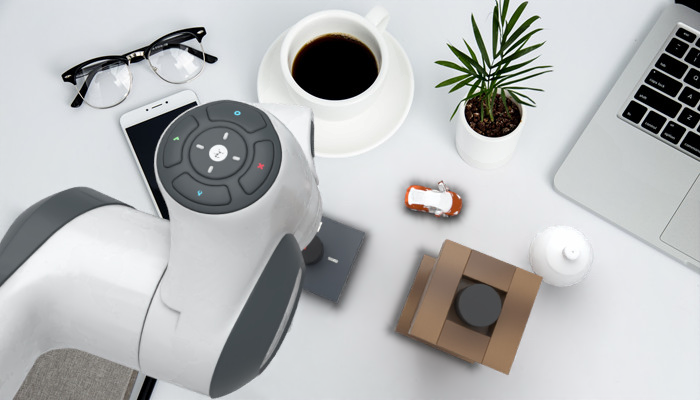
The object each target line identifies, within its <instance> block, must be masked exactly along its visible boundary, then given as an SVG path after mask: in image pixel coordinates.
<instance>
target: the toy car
mask: <svg viewBox="0 0 700 400" xmlns="http://www.w3.org/2000/svg"><path fill="white" fill-rule="evenodd" d="M437 185H438V189H439V190H437V189H433V188H431V187H428V186H423V185H419V184H411V185H409V186H408V188H407V189H406V192H405V195H404V205H405V207H406V208H407V209H409V210H410V211H414V212H421V213H422V212H424V213H431V214H434V217H436V218H440V217H441V216H443V217H444V218H445V217H446V218H448V219H449V218H451V217H455V216H457V215H459V214H460V212H461V210H462V208H463V200H462V199H463V198H462V197H461V195H460V194H458V193H457V192H455V191H451V190H450V188H449V186H447V184H446V183H445V182H444V181H443V179H441V181H439V182H437Z"/></svg>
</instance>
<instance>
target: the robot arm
mask: <svg viewBox="0 0 700 400" xmlns="http://www.w3.org/2000/svg"><path fill="white" fill-rule="evenodd" d="M315 153H316V152H315V115H314V111H313V109H312V107H310V106H306V105H305V106H304V105H298V104H290V103H282V102H281V103H280V102H249V101H246V100H245V101H244V100H238V99H217V100H216V99H215V100H211V101H210V100H209V101H206V102H203V103H200V104H198V105H195V106H192V107H191V108H189V109H187V110H185V111H184V112H182V113H181V114H179V115H178V116H177V117H176V118H174V119H173V120H172V121H171V122H170V123H169V124H168V126H167V127H166V128H165V129H164V131H163V132H162V134H161V135H160V138H159V139H158V142H157V145H156V147H155V151H154V160H153V161H154V163H153V167H154V175H155V179H156V183H157V185H158V188H159V191H160V193H161V195H162V198H163V200H164V201H165V204H166V207H167V210H168V215H169V219H165V218H163V217H160V216H157V215H155V214H151V213H148V212H145V211H142V210H140V209H137V208H136V207H135V206H133V205H130V204H128V203H126V202H123V201H121V200H119V199H116V198H115V197H112V196H109V195H108V194H105V193H103V192H100V191H99V190H96V189H94V188H91V187H88V186H74V187H70V188H67V189H63V190H61V191H58V192H55V193H52V194H51V195H49V196H46V197H44V198H42V199H40V200H38V201H37V202H35V203H34V204H31V205H30V206H29V207H27V208H26V209H25V210H24V211H22V212H21V213H20V214H19V215H18V216H17V217H16V218H15V220H13V222H12V223H11V225H10V226H9V227H8V229H7V231H6V232H5V234H4V236H3V237H2V238H1V240H0V400H14V398H15V396H16V395H17V393H18V391H19V390H20V388H21V387H22V385H23V384H24V382H25V380H26V378H27V376H28V375H29V373H30V371H31V370H32V368H33V366H34V365H35V364H36V361H37V360H38V359H39V357H41V356H43V354H46V353H49V352H51V351H54V350H60V349H72V350H79V351H81V352H85V353H87V354H90V355H93V356H95V357H99V358H102V359H104V360H106V361H110V362H112V363H115V364H118V365H121V366H124V367H126V368H129V369H132V370H135V371H136V372H140V373H142V374H143V375H144V376H147V377H150V378H152V379H155V380H157V381H161V382H164V383H166V384H169V385H172V386H175V387H178V388H181V389H184V390H186V391H189V392H192V393H195V394H198V395H202V396H205V397H208V398H210V399H212V400H214V399H219V398H222V397H225V396H227V395H230V394H232V393H234V392H237V391H238V390H240V389H241V388H243V387H245V386H246V385H248V384H249V383H251V382H252V381H253V380H255V379H256V378H257V377H259V376H260V375H262V374H263V372H264V371H265V370H266V369H267V368H268V366H270V364H271V362H272V361H273V359H274V358H275V356H276V355H277V353H278V351H279V350H280V348H281V347H282V345H283V342H284V341H285V338H286V336H287V335H288V333H290V332H291V331H292V327H293V323H294V317H295V315H296V312H297V309H298V306H299V302H300V300H301V295H302V291H303V289H302V288H303V283H304V278H305V271H306V267H305V263H304V259H303V255H302V252H301V251H302V250H303V249H304V248H305V247H306V246H307V245H308V244H309V243H310V242H311V241H312V239H313V238H314V236H315V234H316V233H317V230H318V228H319V225H320V222H321V218H322V216H323V201H322V195H321V192H320V189H319V184H320V180H319V177H318V173H317V169H316V164H315V157H316V156H315V155H316V154H315Z"/></svg>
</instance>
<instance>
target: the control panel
mask: <svg viewBox="0 0 700 400" xmlns="http://www.w3.org/2000/svg"><path fill="white" fill-rule="evenodd" d="M315 235H316V236H318V237H319V239H320V240H321V242H322V243H323V246H324V255H323V257H322V259H321V260H320V261H319V262H318V263H316V264H314V265H305V267H306V271H305V278H304V283H303V288H302V290H305V291H308V292H310V293H312V294H314V295H317V296H319V297H320V298H321V297H322V298H323V299H327V300H329V301H331V302H334V303H336V304H338V303H339V301H340V298H341V296H342V293H343V291H344V289H345V287H346V284H347V283H348V282H347V281H348V279H349V277H350V274H351V271H352V270H353V267H354V264H355V262H356V259H357V257H358V254H359V252H360V249H361V247H362V245H363V242H364V241H365V237H366V233H365V232H364V231H362V230H359V229H356V228H354V227H353V226H349V225H347V224H344V223H341V222H339V221H336V220H334V219H332V218H329V217H327V216H324V215H322V218H321V222H320V225H319V228H318V230H317V233H316V234H315Z"/></svg>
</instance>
